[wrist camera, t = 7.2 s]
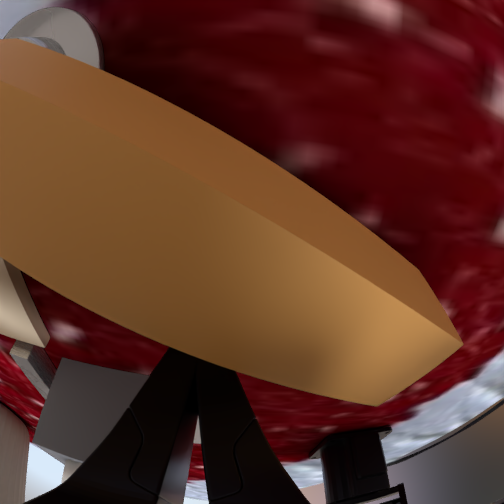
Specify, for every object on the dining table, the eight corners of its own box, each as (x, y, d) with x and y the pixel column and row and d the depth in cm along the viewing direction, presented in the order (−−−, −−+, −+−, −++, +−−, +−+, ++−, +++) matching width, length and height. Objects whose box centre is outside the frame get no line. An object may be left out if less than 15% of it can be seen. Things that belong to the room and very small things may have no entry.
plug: (165, 411, 17) (153, 510, 11) (86, 395, 17) (64, 485, 11) (154, 375, 15) (134, 503, 8) (62, 356, 14) (26, 465, 8)
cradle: (205, 424, 18) (203, 446, 17) (63, 397, 17) (57, 415, 16) (227, -15, 5) (223, -37, 4) (-48, 56, 4) (-78, 64, 3)
